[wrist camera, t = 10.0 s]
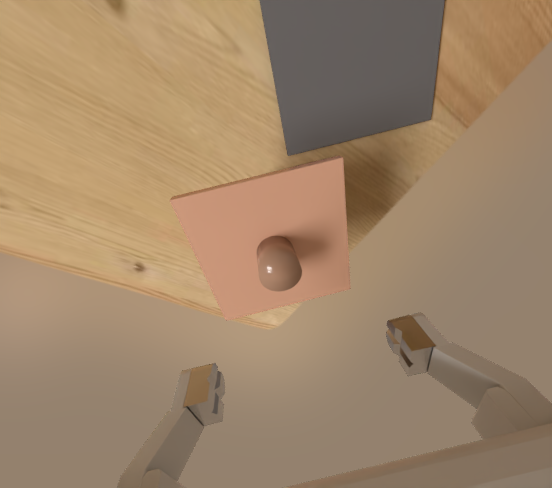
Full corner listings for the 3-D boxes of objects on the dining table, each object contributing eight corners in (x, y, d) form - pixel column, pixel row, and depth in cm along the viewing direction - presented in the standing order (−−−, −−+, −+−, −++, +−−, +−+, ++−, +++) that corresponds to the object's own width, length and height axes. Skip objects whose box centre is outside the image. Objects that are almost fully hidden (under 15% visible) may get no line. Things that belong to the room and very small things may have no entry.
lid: (338, 155, 16) (363, 166, 13) (347, 283, 22) (365, 313, 19) (172, 196, 16) (155, 217, 13) (226, 314, 22) (223, 349, 19)
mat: (454, -117, 17) (458, -122, 17) (428, 119, 25) (430, 119, 25) (247, -66, 17) (247, -70, 17) (287, 155, 25) (288, 155, 25)
